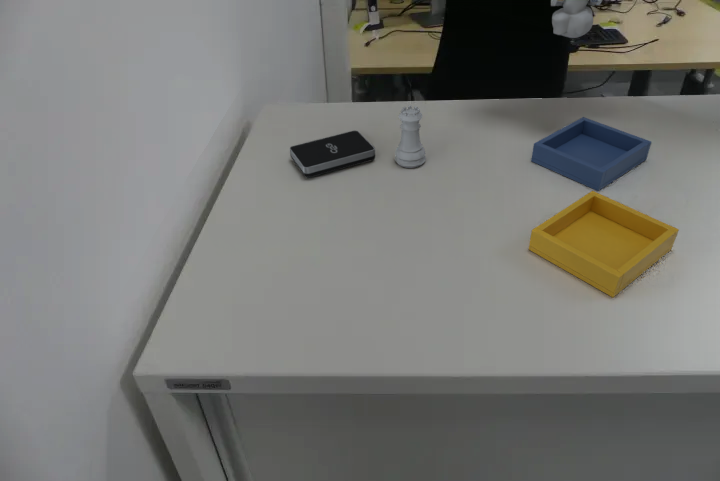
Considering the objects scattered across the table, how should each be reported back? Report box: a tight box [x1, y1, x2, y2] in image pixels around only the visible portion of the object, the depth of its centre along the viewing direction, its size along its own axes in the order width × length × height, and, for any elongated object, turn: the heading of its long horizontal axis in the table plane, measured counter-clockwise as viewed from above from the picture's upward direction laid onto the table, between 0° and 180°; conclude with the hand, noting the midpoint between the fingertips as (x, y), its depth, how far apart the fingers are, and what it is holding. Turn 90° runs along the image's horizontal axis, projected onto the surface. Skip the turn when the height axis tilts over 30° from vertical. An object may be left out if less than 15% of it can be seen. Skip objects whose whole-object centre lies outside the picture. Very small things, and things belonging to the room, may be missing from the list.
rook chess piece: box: [394, 105, 427, 169], centre depth 78 cm, size 4×4×8 cm
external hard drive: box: [289, 129, 376, 179], centre depth 81 cm, size 7×11×2 cm, turn 114°
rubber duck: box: [551, 0, 594, 39], centre depth 74 cm, size 5×7×8 cm
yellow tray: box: [528, 190, 680, 298], centre depth 62 cm, size 12×11×3 cm
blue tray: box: [530, 116, 653, 192], centre depth 77 cm, size 12×11×3 cm
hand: (576, 3), depth 74 cm, fingers closed on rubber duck, 3 cm apart
